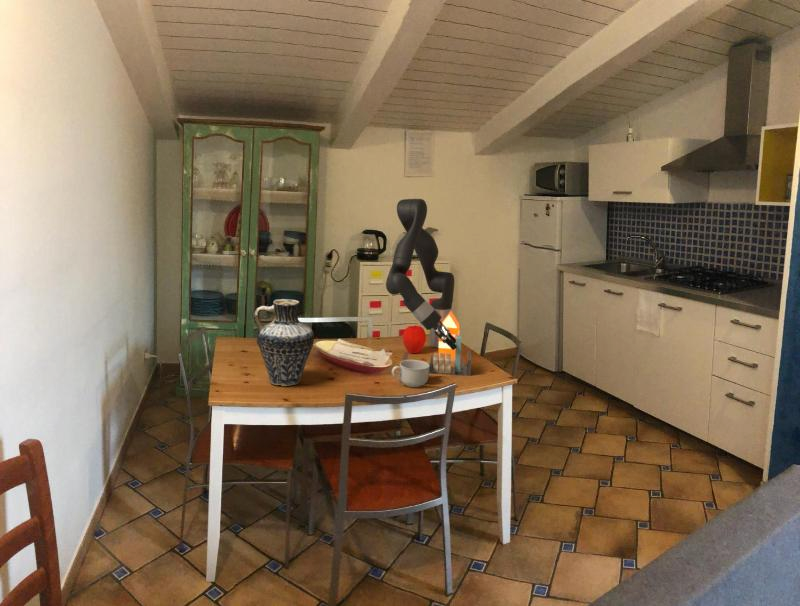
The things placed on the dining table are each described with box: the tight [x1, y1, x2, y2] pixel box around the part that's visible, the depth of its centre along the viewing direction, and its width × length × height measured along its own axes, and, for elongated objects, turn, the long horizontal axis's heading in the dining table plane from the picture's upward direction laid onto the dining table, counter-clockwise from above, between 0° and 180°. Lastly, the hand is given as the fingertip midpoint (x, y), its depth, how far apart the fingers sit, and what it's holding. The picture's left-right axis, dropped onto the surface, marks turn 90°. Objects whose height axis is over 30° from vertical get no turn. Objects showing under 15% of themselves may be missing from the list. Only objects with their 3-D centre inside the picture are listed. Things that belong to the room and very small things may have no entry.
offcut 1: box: [433, 352, 439, 372], centre depth 258 cm, size 2×10×5 cm, turn 175°
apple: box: [402, 324, 427, 354], centre depth 284 cm, size 10×10×12 cm
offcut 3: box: [445, 353, 452, 373], centre depth 258 cm, size 2×10×5 cm, turn 175°
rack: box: [401, 350, 472, 377], centre depth 258 cm, size 26×14×7 cm, turn 85°
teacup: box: [391, 359, 430, 388], centre depth 240 cm, size 14×11×8 cm
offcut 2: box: [439, 353, 445, 373], centre depth 258 cm, size 2×10×5 cm, turn 175°
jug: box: [253, 298, 315, 387], centre depth 236 cm, size 21×19×30 cm
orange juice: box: [438, 311, 460, 362], centre depth 274 cm, size 8×9×20 cm
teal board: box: [454, 334, 462, 372], centre depth 257 cm, size 2×6×13 cm, turn 175°
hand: (455, 345), depth 256 cm, fingers open, 8 cm apart
